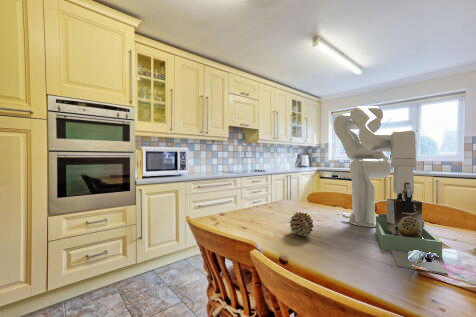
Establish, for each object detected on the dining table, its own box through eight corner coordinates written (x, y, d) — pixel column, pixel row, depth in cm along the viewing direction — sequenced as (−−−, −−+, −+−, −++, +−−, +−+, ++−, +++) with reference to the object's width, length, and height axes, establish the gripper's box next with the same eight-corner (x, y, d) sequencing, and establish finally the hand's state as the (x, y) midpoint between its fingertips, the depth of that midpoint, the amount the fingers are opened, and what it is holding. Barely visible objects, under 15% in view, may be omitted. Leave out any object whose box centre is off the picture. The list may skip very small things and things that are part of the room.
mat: (397, 266, 64) (397, 264, 64) (391, 251, 75) (391, 249, 75) (448, 275, 59) (448, 273, 59) (433, 257, 70) (433, 256, 70)
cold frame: (381, 249, 77) (381, 225, 77) (375, 232, 95) (375, 213, 95) (442, 258, 70) (441, 231, 70) (423, 238, 88) (423, 217, 88)
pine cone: (318, 242, 83) (318, 216, 83) (292, 242, 84) (292, 215, 84) (305, 225, 105) (305, 204, 105) (284, 225, 106) (284, 204, 106)
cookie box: (395, 246, 80) (395, 201, 80) (386, 239, 86) (385, 198, 86) (423, 247, 78) (423, 201, 79) (411, 240, 85) (411, 198, 85)
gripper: (387, 164, 92) (388, 205, 91) (395, 163, 76) (396, 213, 76) (410, 163, 88) (411, 207, 88) (423, 163, 73) (424, 216, 72)
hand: (404, 210), depth 82 cm, fingers open, 9 cm apart
